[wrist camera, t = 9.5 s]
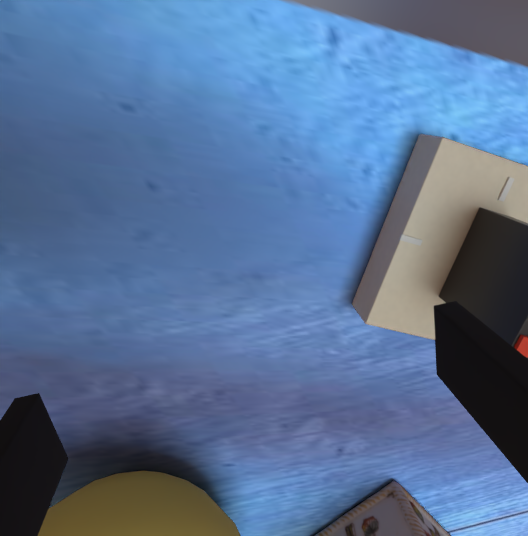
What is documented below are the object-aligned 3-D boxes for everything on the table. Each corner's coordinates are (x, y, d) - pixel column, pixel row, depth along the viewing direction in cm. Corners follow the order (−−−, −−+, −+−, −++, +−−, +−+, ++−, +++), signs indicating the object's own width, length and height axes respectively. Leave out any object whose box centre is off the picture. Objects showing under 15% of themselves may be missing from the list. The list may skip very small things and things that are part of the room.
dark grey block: (479, 206, 26) (572, 242, 20) (510, 216, 27) (611, 254, 20) (437, 296, 28) (509, 357, 21) (467, 304, 29) (546, 366, 22)
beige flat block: (417, 133, 27) (442, 136, 24) (552, 178, 30) (589, 187, 27) (350, 304, 31) (364, 324, 28) (474, 333, 33) (499, 356, 30)
